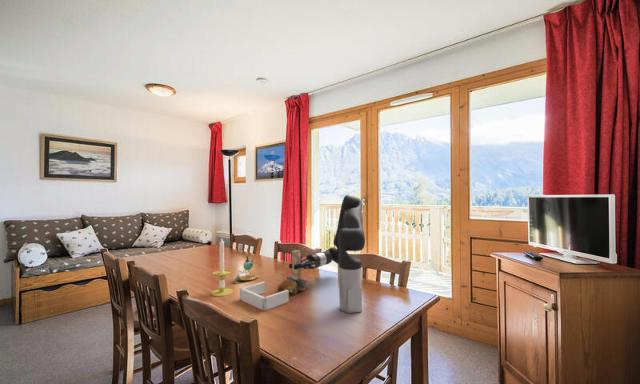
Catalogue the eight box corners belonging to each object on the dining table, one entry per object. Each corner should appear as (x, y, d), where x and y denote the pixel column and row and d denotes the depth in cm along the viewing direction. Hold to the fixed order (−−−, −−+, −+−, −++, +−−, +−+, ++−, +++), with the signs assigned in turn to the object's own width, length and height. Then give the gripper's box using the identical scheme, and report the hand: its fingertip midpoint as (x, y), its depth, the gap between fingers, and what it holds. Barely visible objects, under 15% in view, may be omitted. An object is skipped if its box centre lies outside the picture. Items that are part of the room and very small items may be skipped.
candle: (225, 297, 129) (225, 239, 129) (206, 295, 131) (206, 238, 131) (236, 289, 139) (236, 235, 139) (218, 288, 141) (218, 235, 141)
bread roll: (299, 298, 138) (300, 281, 141) (295, 296, 128) (297, 278, 132) (279, 297, 138) (280, 280, 142) (274, 295, 129) (276, 277, 133)
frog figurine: (226, 281, 153) (229, 254, 155) (255, 278, 165) (257, 252, 167) (234, 285, 146) (237, 256, 148) (264, 281, 158) (266, 255, 160)
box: (263, 291, 136) (263, 281, 136) (288, 301, 124) (288, 290, 124) (239, 299, 127) (239, 288, 127) (264, 310, 114) (264, 298, 114)
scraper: (291, 283, 145) (290, 248, 145) (307, 288, 137) (306, 252, 137) (286, 284, 143) (285, 249, 142) (302, 290, 135) (302, 253, 134)
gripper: (306, 251, 155) (282, 257, 142) (325, 255, 145) (301, 261, 133) (307, 265, 155) (282, 271, 142) (325, 269, 145) (301, 277, 133)
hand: (292, 266), depth 137 cm, fingers closed on scraper, 3 cm apart
